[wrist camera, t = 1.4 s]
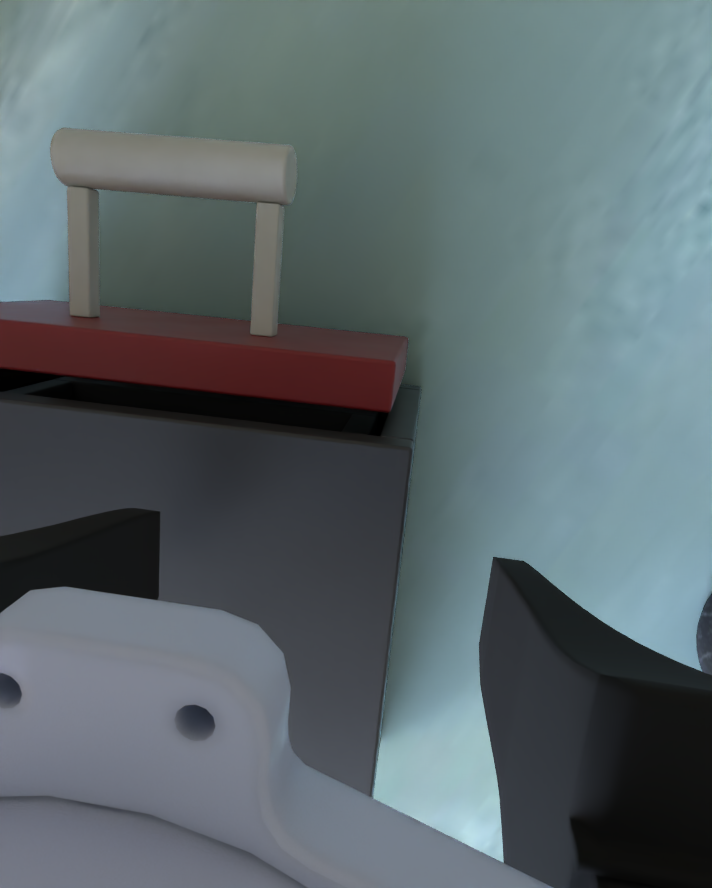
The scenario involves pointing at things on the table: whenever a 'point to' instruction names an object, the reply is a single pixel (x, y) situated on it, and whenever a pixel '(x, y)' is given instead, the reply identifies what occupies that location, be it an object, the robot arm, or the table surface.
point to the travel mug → (705, 638)
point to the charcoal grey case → (245, 535)
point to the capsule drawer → (183, 335)
